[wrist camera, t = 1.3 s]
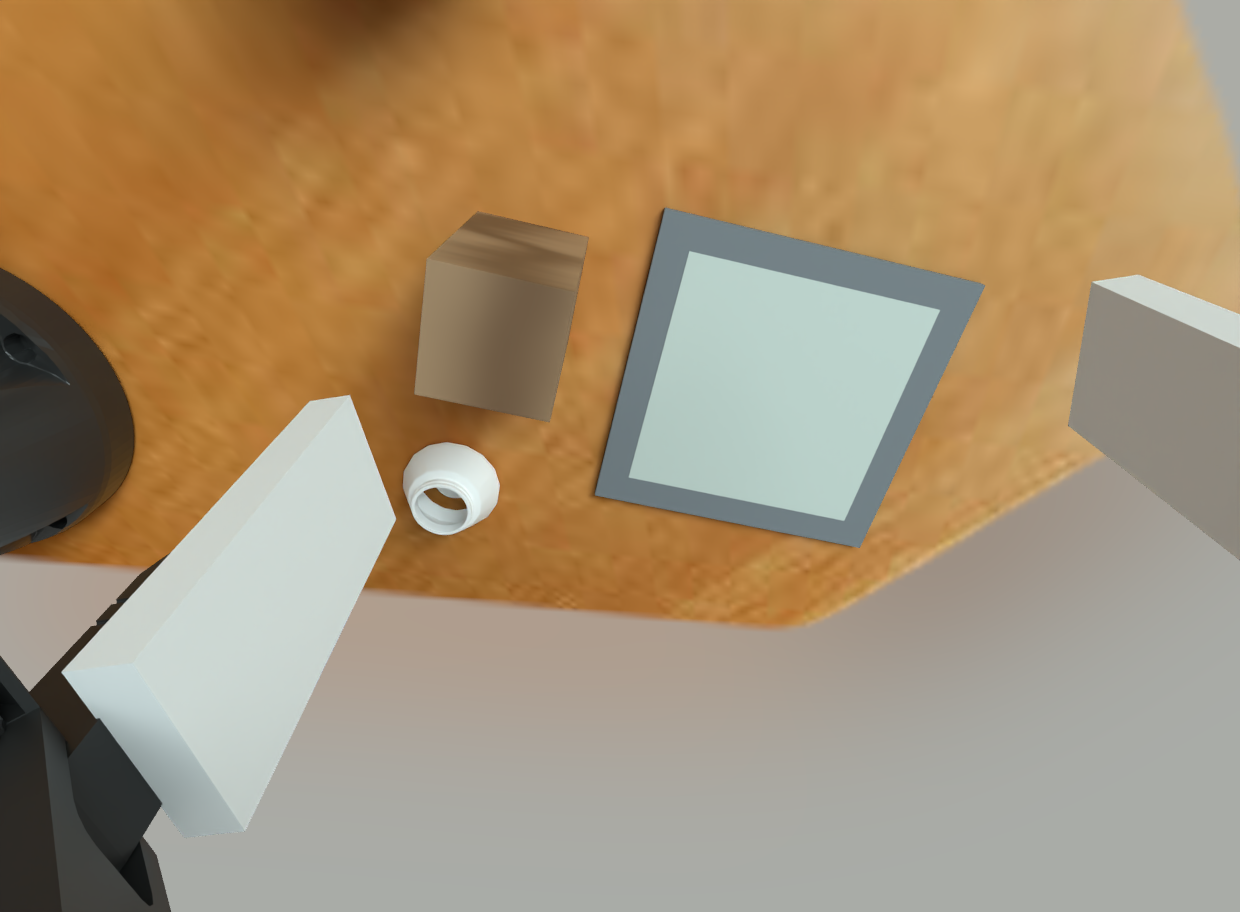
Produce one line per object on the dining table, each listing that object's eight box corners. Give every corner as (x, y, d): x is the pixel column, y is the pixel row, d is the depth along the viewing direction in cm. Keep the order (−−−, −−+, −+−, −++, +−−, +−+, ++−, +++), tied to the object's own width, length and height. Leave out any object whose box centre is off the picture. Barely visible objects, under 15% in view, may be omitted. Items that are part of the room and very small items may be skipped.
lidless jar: (394, 447, 37) (424, 525, 39) (376, 475, 35) (410, 557, 37) (485, 432, 37) (510, 511, 39) (474, 459, 34) (502, 543, 36)
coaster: (595, 491, 38) (594, 495, 38) (664, 207, 31) (665, 209, 31) (857, 543, 39) (859, 548, 39) (981, 283, 32) (985, 285, 32)
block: (464, 318, 34) (414, 394, 26) (478, 211, 31) (426, 258, 23) (568, 340, 34) (549, 422, 26) (589, 237, 32) (575, 292, 24)
